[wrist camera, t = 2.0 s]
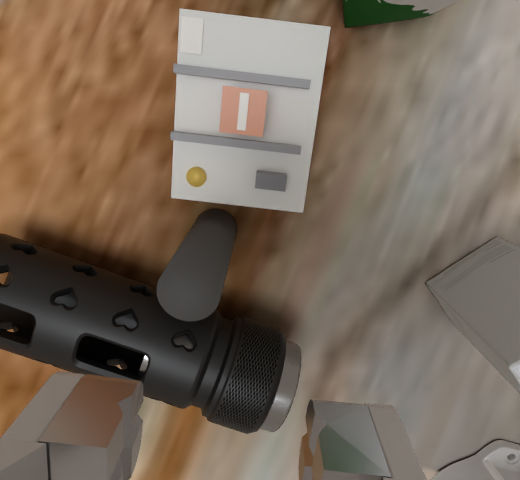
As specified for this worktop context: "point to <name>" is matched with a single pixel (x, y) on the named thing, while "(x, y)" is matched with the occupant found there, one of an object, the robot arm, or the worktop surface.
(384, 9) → the soya milk
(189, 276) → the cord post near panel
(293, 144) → the panel
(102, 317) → the muzzle brake
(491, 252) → the skincare box
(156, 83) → the worktop surface
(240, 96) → the block
